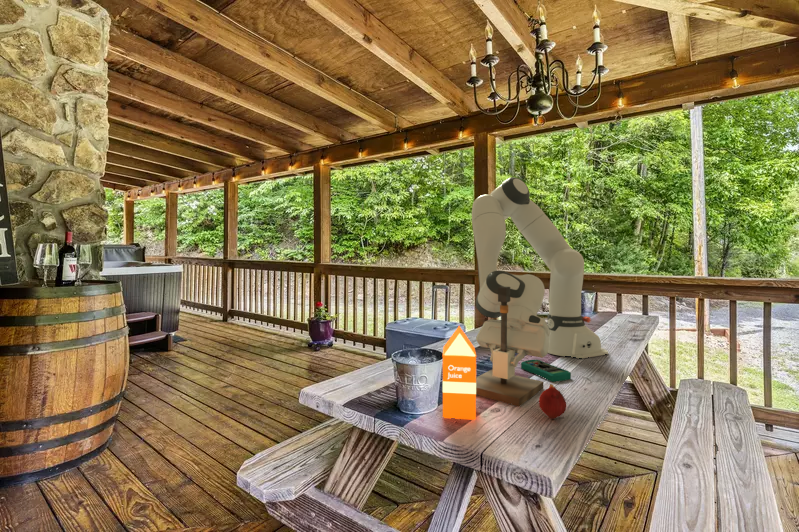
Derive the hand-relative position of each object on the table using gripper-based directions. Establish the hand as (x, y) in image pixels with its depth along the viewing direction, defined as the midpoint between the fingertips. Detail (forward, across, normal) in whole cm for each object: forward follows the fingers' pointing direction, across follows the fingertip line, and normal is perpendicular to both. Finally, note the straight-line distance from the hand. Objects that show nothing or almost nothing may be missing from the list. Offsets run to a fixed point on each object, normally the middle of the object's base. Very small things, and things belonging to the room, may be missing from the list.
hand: (502, 363), depth 103 cm
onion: (+12, +16, -1) cm, 20 cm away
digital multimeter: (-10, +3, +22) cm, 24 cm away
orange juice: (+19, -2, -8) cm, 21 cm away
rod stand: (+5, 0, +6) cm, 8 cm away
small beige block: (+2, 0, +3) cm, 4 cm away
